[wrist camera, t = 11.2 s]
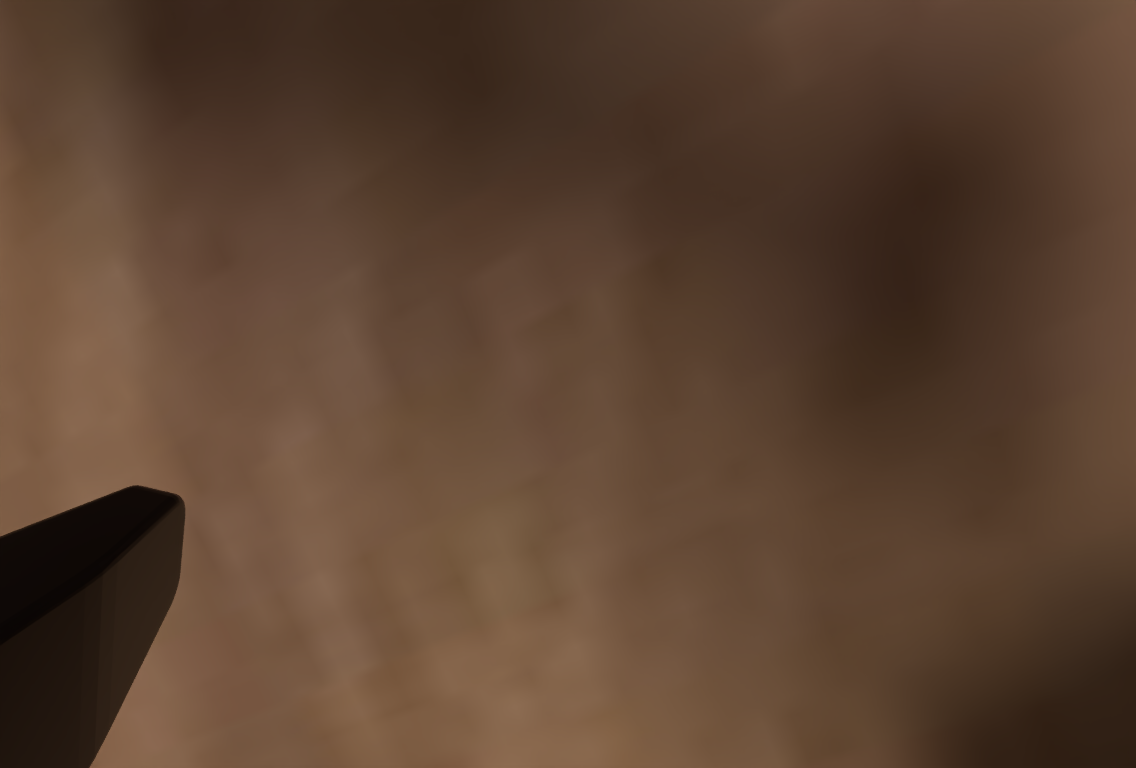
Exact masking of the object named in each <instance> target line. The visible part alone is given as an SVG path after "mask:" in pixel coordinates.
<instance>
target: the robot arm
mask: <svg viewBox="0 0 1136 768" xmlns="http://www.w3.org/2000/svg"><path fill="white" fill-rule="evenodd" d="M184 524H185V505H184V501H183V500H182V498H181V497H180V496H179V495H177V494H174V493H169V492H165V491H161V490H157V489H153V488H148V487H144V486H139V485H135V486H130V487H127V488H124V489H122V490H119V491H116V492H114V493H111V494H109V495H106V496H104V497H101V498H98V499H96V500H93V501H91V502H88V503H85V504H83V505H80V506H78V507H75V508H73V509H70V510H67V511H65V512H62V513H60V514H57V515H55V516H52V517H49V518H47V519H44V520H42V521H39V522H36V523H34V524H31V525H29V526H26V527H24V528H21V529H18V530H16V531H13V532H11V533H8V534H6V535H3V536H0V768H89V767H90V766H91V764H92V762H93V761H94V759H95V757H96V755H97V753H98V751H99V749H100V747H101V745H102V744H103V742H104V740H105V738H106V736H107V734H108V732H109V730H110V728H111V726H112V724H113V722H114V720H115V718H116V716H117V714H118V712H119V710H120V708H121V706H122V704H123V701H124V699H125V697H126V695H127V693H128V691H129V689H130V687H131V685H132V683H133V681H134V679H135V677H136V675H137V673H138V671H139V669H140V667H141V665H142V663H143V661H144V659H145V657H146V655H147V653H148V651H149V649H150V647H151V645H152V643H153V641H154V639H155V637H156V635H157V632H158V630H159V628H160V626H161V624H162V622H163V620H164V618H165V616H166V614H167V612H168V610H169V608H170V606H171V604H172V602H173V599H174V596H175V594H176V590H177V587H178V583H179V578H180V570H181V558H182V547H183V535H184Z"/></svg>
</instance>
